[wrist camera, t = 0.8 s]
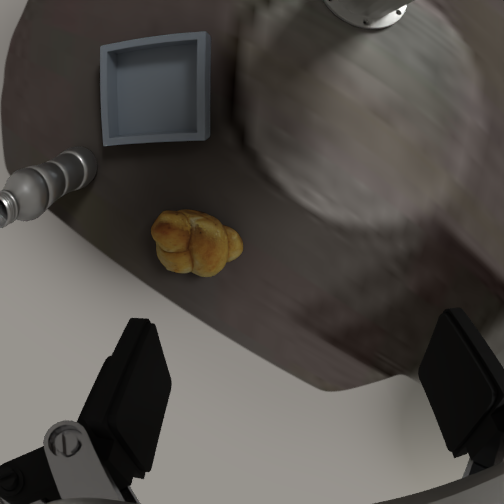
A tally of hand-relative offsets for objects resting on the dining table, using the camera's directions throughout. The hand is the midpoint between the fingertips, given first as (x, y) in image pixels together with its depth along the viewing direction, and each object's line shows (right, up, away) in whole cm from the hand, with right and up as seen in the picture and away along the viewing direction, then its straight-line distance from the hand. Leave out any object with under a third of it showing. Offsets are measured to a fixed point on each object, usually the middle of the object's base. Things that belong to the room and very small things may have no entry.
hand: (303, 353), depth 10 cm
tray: (-14, +25, +28) cm, 40 cm away
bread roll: (-9, +6, +38) cm, 40 cm away
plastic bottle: (-27, +17, +33) cm, 46 cm away
